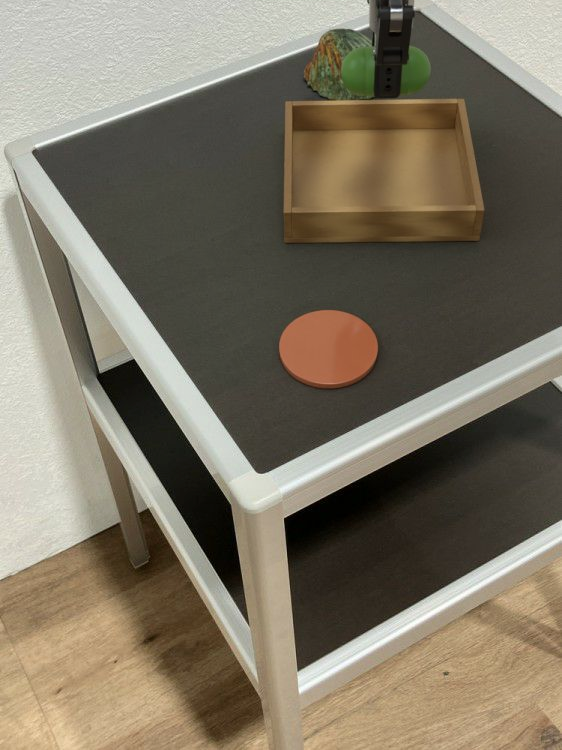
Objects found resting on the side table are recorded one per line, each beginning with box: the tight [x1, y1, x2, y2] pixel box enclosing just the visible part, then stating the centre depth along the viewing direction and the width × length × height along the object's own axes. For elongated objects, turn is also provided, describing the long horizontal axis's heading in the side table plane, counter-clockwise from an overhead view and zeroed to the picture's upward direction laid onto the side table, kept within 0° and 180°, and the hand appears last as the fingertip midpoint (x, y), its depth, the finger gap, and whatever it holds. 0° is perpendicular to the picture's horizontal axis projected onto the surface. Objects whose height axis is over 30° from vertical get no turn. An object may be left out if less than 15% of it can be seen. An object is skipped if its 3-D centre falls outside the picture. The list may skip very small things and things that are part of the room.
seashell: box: [303, 28, 376, 101], centre depth 102 cm, size 10×4×10 cm
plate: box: [278, 309, 379, 390], centre depth 78 cm, size 8×8×1 cm
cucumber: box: [341, 45, 432, 96], centre depth 82 cm, size 8×4×4 cm, turn 89°
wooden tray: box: [283, 98, 485, 244], centre depth 90 cm, size 17×16×4 cm
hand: (385, 79), depth 83 cm, fingers closed on cucumber, 4 cm apart
